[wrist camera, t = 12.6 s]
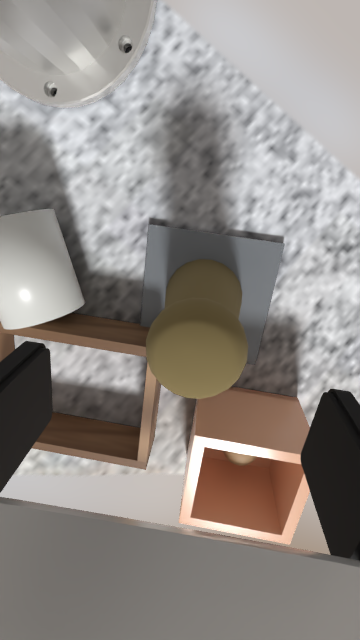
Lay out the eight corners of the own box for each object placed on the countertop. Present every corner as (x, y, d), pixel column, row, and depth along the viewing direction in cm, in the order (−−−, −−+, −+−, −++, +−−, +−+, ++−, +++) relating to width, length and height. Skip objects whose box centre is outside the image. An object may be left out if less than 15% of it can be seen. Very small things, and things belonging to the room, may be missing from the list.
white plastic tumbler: (-1, 225, 25) (-64, 232, 19) (68, 208, 24) (22, 209, 18) (32, 307, 27) (-16, 335, 22) (96, 295, 26) (63, 320, 21)
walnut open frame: (2, 301, 27) (-32, 317, 24) (167, 328, 26) (159, 349, 23) (11, 411, 32) (-16, 439, 28) (154, 437, 31) (145, 469, 27)
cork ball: (224, 415, 28) (225, 440, 25) (260, 421, 28) (265, 447, 25) (218, 443, 29) (218, 470, 26) (252, 449, 29) (257, 477, 26)
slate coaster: (149, 224, 24) (149, 224, 23) (283, 243, 23) (284, 243, 23) (139, 343, 27) (138, 345, 27) (254, 362, 27) (255, 364, 26)
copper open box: (199, 381, 28) (194, 435, 21) (297, 397, 27) (322, 458, 21) (186, 455, 31) (178, 522, 24) (274, 471, 31) (289, 544, 24)
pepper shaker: (254, 315, 25) (280, 395, 15) (185, 343, 26) (165, 433, 16) (223, 245, 23) (229, 279, 13) (152, 278, 25) (106, 333, 14)
